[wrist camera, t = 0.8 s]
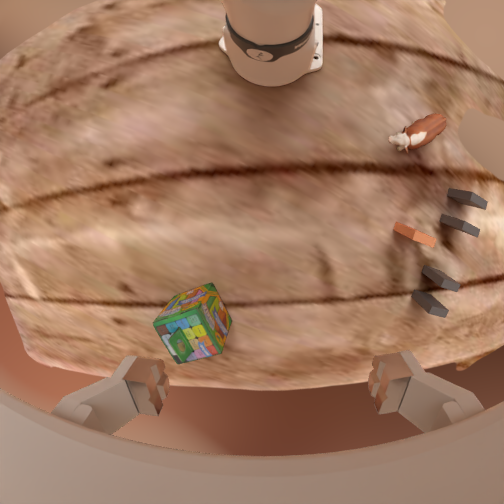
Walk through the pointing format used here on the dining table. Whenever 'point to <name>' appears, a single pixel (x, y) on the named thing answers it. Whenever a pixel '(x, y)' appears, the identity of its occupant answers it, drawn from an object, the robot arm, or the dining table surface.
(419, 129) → the bull figurine
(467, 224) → the domino
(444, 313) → the domino
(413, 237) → the domino
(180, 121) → the dining table surface
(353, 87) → the dining table surface
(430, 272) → the domino
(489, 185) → the dining table surface
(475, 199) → the domino
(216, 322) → the chalk box
